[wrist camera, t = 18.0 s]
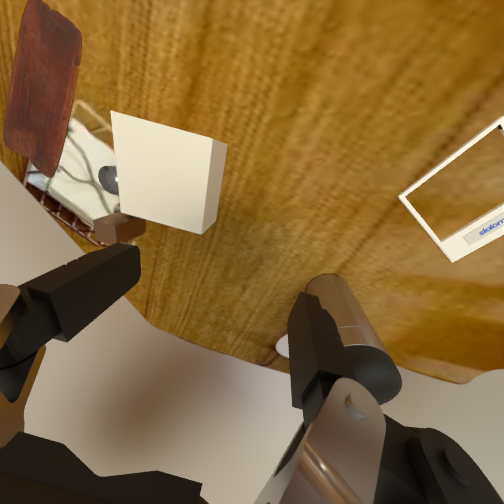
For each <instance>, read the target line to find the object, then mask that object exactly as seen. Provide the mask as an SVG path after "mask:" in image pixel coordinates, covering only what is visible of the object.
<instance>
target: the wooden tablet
mask: <svg viewBox="0 0 504 504" xmlns="http://www.w3.org/2000/svg"><path fill="white" fill-rule="evenodd" d="M81 46H82V43H81V34H80V31H79V30H78V29H77V28H76V27H75V25H74V24H73V23H72V22H71V21H69V20H68V19H67V18H66V17H64V16H63V15H62V14H60V13H59V12H58V11H55V10H52V9H50V7H49V6H48V5H47V4H46V3H44V2H43V1H42V0H28V2H27V4H26V7H25V9H24V12H23V15H22V19H21V23H20V29H19V38H18V42H17V48H16V53H15V58H14V64H13V69H12V73H11V80H10V84H9V90H8V96H7V102H6V110H5V119H4V131H3V137H4V143H5V145H6V146H7V147H8V148H9V149H11V150H13V151H14V152H16V153H18V154H20V155H23V156H28V157H29V159H30V161H31V163H32V164H33V165H34V166H35V168H37V169H38V170H39V171H40V172H41V173H42V174H44V175H45V176H47V177H53V175H54V173H55V170H56V168H57V165H58V162H59V159H60V156H61V153H62V149H63V144H64V140H65V136H66V132H67V126H68V121H69V116H70V113H71V108H72V103H73V98H74V92H75V87H76V82H77V77H78V71H79V69H78V66H79V65H80V57H81Z"/></svg>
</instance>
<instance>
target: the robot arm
mask: <svg viewBox="0 0 504 504" xmlns="http://www.w3.org/2000/svg"><path fill="white" fill-rule="evenodd" d="M140 276H141V265H140V250H139V248H138V247H137V246H134V245H131V244H127V243H123V242H117V243H115V244H113V245H111V246H109V247H107V248H105V249H101V250H97V251H93V252H90V253H88V254H86V255H83V256H81V257H79V258H78V259H77V260H76V259H75V260H73V261H71V262H69V263H67V265H62V266H60V267H58V268H56V269H54V270H51V271H49V272H47V273H45V274H43V275H41V276H39V277H37V278H34V279H32V280H30V281H28V282H26V283H24V284H22V285H19V286H17V287H16V286H13V285H8V284H0V504H209V503H208V502H207V501H205V500H204V499H203V498H202V497H201V496H200V492H201V487H202V483H199V482H195V481H192V480H188V479H185V478H181V477H178V476H174V475H171V474H167V473H164V472H160V471H149V472H141V473H133V474H125V475H116V476H107V477H100V476H97V475H96V474H94V473H93V472H92V471H91V470H90V469H89V468H88V467H87V466H86V465H85V464H84V463H83V462H82V461H81V460H80V459H79V458H78V457H76V455H75V454H74V453H73V452H71V451H70V450H69V449H68V448H67V447H66V446H65V445H64V444H62V443H59V442H55V441H51V440H48V439H44V438H41V437H38V436H34V435H31V434H27V433H24V408H25V405H26V402H27V399H28V397H29V394H30V391H31V389H32V386H33V383H34V381H35V378H36V375H37V373H38V370H39V368H40V365H41V362H42V360H43V357H44V354H45V352H46V346H45V344H46V343H47V342H48V341H50V340H51V339H52V338H53V339H57V340H60V341H64V342H68V341H69V340H71V339H72V338H73V337H74V336H75V335H77V334H78V333H79V332H80V331H81V330H82V329H84V328H85V327H86V326H87V325H89V324H90V323H91V322H92V321H93V320H94V319H96V318H97V317H98V316H99V315H100V314H101V313H103V312H104V311H105V310H106V309H107V308H109V307H110V306H111V305H112V304H113V303H114V302H116V301H117V300H118V299H119V298H120V297H121V296H123V295H124V294H125V293H126V292H128V291H129V290H130V289H131V288H132V287H133V286H135V285H136V284H137V282H138V281H139V279H140ZM288 344H289V360H290V376H291V391H292V392H291V393H292V406H293V407H295V408H299V409H302V410H303V417H304V421H303V422H302V423H301V425H300V427H299V428H298V430H297V432H296V434H295V435H294V437H293V439H292V441H291V442H290V444H289V446H288V448H287V450H286V451H285V453H284V455H283V457H282V458H281V460H280V462H279V463H278V465H277V467H276V469H275V470H274V472H273V474H272V476H271V477H270V479H269V481H268V482H267V484H266V485H265V487H264V488H263V490H262V491H261V493H260V494H259V496H258V497H257V499H256V501H255V502H254V504H504V502H503V500H502V499H501V497H500V496H499V494H498V493H497V491H496V490H495V489H494V487H493V486H492V484H491V483H490V482H489V480H488V479H487V477H486V476H485V475H484V473H483V472H482V471H481V469H480V468H479V467H478V466H477V464H476V463H475V462H474V461H473V459H472V458H471V457H470V456H469V455H468V454H467V453H466V452H465V451H464V450H463V449H462V447H460V446H459V444H458V443H456V442H455V441H454V440H453V439H451V438H450V437H448V436H447V435H445V434H444V433H442V432H440V431H438V430H436V429H432V428H425V429H424V428H415V427H405V426H403V425H401V424H400V423H398V422H396V421H395V420H393V419H392V418H390V417H388V416H387V415H385V414H384V413H383V412H382V410H381V408H380V406H379V405H382V404H384V403H386V402H388V401H390V400H391V399H393V398H394V397H395V396H396V395H397V394H398V393H399V392H400V390H401V387H402V379H401V376H400V373H399V371H398V369H397V367H396V366H395V364H394V362H393V361H392V359H391V357H390V355H389V354H388V352H387V350H386V349H385V347H384V345H383V343H382V342H381V340H380V338H379V337H378V335H377V333H376V332H375V330H374V328H373V327H372V325H371V323H370V321H369V320H368V318H367V316H366V315H365V313H364V311H363V309H362V308H361V306H360V304H359V303H358V301H357V299H356V297H355V296H354V294H353V292H352V291H351V289H350V287H349V285H348V284H347V282H346V281H345V280H344V279H343V278H342V277H340V276H337V275H333V274H325V275H320V276H318V277H316V278H314V279H313V280H312V281H311V282H310V283H309V284H308V286H307V289H306V293H305V292H300V294H299V296H298V298H297V300H296V302H295V304H294V306H293V309H292V311H291V313H290V315H289V319H288Z"/></svg>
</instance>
